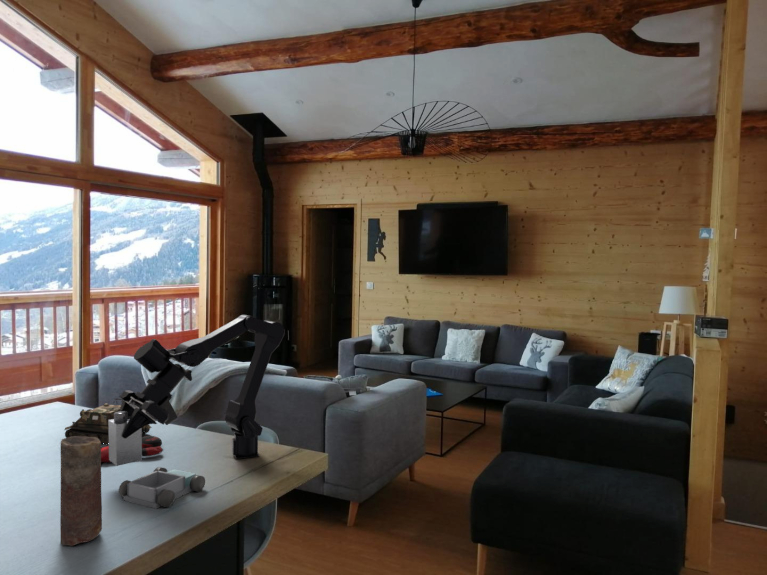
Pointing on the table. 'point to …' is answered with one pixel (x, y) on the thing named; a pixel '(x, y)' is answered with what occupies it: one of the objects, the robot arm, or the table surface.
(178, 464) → the table surface
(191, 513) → the table surface
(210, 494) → the table surface
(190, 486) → the chassis
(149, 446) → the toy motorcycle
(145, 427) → the model tank
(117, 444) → the block
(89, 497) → the candle
